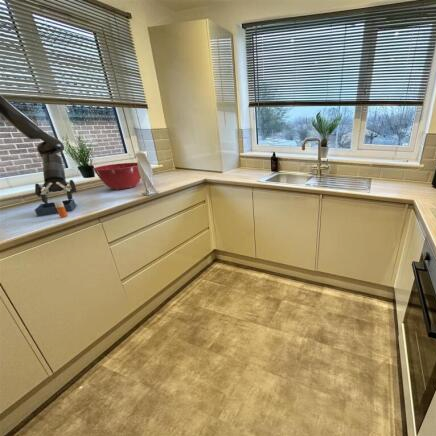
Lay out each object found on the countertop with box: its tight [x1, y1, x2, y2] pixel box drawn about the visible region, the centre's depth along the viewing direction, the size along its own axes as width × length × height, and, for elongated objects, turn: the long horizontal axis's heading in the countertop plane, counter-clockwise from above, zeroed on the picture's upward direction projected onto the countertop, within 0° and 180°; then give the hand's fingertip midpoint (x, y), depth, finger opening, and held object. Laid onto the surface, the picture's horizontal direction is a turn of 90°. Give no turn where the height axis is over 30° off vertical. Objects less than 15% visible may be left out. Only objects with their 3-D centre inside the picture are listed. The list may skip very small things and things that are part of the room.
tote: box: [34, 198, 77, 217], centre depth 124 cm, size 13×11×4 cm
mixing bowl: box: [92, 162, 141, 191], centre depth 168 cm, size 28×28×16 cm
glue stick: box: [53, 200, 69, 219], centre depth 114 cm, size 3×3×8 cm
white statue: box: [133, 148, 160, 197], centre depth 148 cm, size 8×8×28 cm
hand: (57, 201), depth 114 cm, fingers open, 8 cm apart
